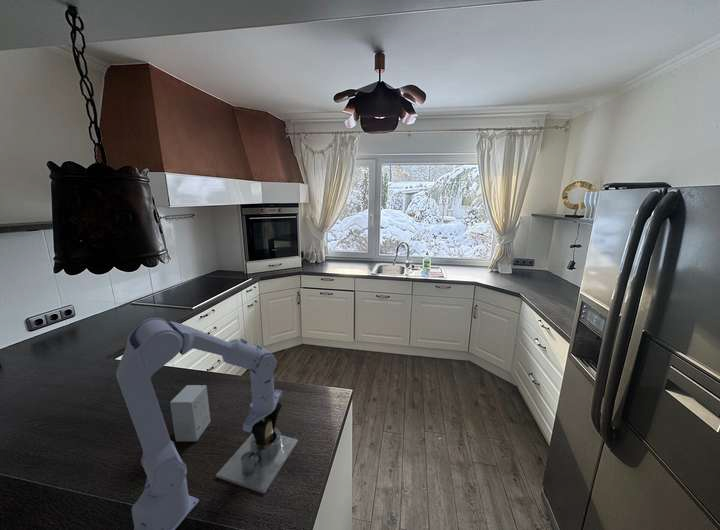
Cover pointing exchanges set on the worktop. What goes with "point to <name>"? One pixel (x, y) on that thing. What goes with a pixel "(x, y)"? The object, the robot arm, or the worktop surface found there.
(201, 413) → the small box
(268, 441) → the brass rounded plug
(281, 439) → the manifold plate
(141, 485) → the worktop surface
